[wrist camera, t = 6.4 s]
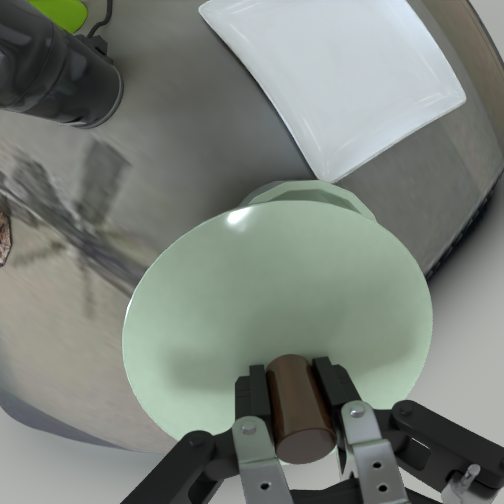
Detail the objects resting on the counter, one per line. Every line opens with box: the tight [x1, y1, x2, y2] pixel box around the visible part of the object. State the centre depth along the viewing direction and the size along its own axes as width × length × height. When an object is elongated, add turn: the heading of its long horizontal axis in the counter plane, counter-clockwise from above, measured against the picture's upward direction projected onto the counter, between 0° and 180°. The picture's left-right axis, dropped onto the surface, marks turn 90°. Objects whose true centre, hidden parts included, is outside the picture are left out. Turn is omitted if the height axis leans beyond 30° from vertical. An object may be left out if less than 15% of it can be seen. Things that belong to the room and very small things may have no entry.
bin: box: [237, 179, 377, 222], centre depth 33 cm, size 16×16×10 cm
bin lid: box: [122, 200, 433, 465], centre depth 12 cm, size 17×17×6 cm
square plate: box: [198, 0, 466, 184], centre depth 30 cm, size 27×27×4 cm
